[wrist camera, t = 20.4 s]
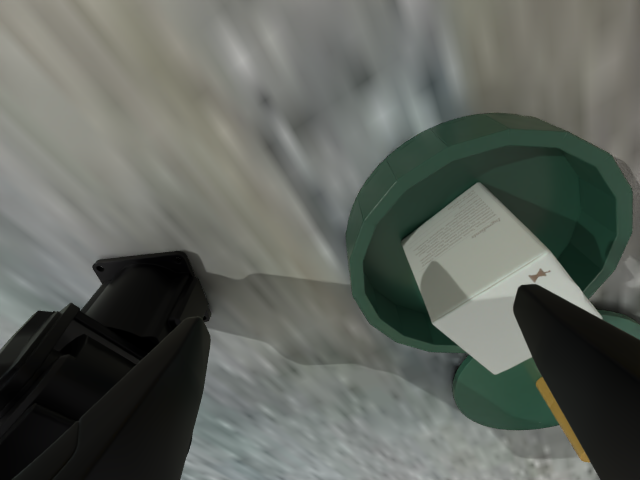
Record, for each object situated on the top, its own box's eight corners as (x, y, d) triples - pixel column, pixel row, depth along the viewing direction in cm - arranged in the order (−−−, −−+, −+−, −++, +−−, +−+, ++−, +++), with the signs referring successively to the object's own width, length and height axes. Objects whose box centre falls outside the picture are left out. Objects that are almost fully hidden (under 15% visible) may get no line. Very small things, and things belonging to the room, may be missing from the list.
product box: (396, 239, 22) (428, 323, 16) (478, 177, 20) (552, 247, 14) (449, 288, 24) (494, 378, 18) (527, 238, 22) (609, 321, 16)
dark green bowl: (354, 326, 27) (358, 362, 24) (335, 129, 19) (338, 150, 16) (552, 307, 26) (581, 343, 23) (628, 92, 18) (691, 106, 15)
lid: (443, 424, 36) (469, 506, 30) (459, 313, 27) (501, 399, 20) (605, 412, 35) (666, 494, 29) (679, 293, 26) (792, 376, 20)
